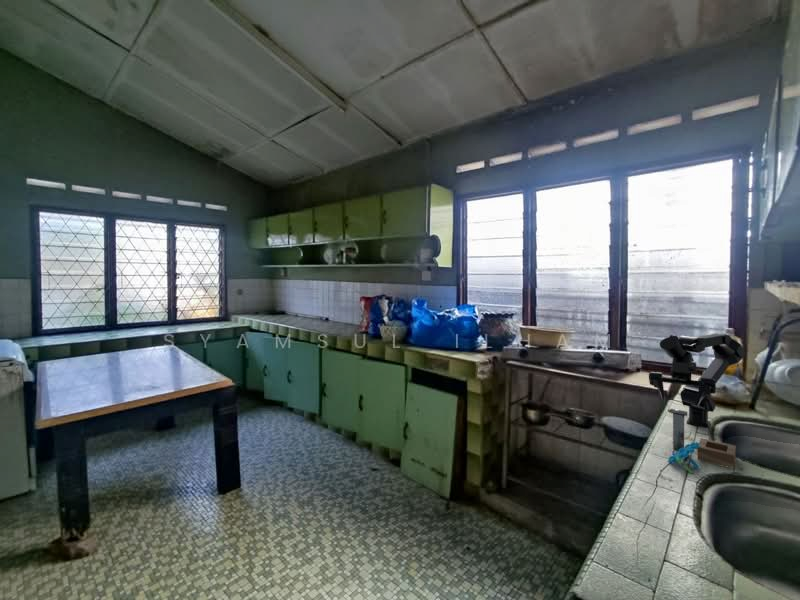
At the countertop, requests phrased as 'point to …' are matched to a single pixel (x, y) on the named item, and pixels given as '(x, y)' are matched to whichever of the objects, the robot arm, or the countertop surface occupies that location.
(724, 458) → the key holder
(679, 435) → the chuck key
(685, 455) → the blue lumpy figure
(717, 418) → the countertop surface
